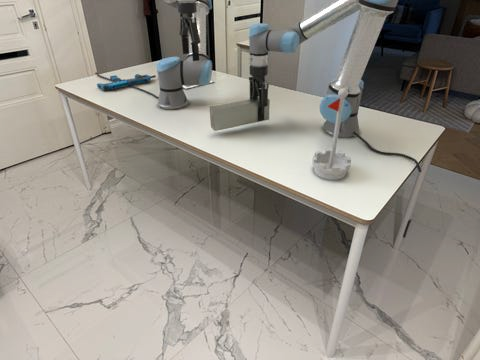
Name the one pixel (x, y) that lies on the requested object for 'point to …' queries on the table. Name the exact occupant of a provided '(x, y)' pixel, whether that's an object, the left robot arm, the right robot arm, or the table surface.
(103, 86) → the submachine gun
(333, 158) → the flag stand
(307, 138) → the table surface
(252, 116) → the bar
